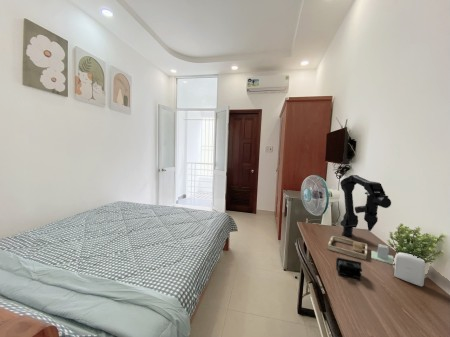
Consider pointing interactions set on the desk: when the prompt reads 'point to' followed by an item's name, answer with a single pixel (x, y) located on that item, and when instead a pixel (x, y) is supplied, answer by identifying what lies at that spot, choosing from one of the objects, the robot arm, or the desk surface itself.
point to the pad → (374, 256)
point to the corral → (344, 251)
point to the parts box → (383, 251)
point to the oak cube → (357, 246)
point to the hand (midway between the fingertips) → (369, 228)
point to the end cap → (348, 268)
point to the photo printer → (410, 268)
